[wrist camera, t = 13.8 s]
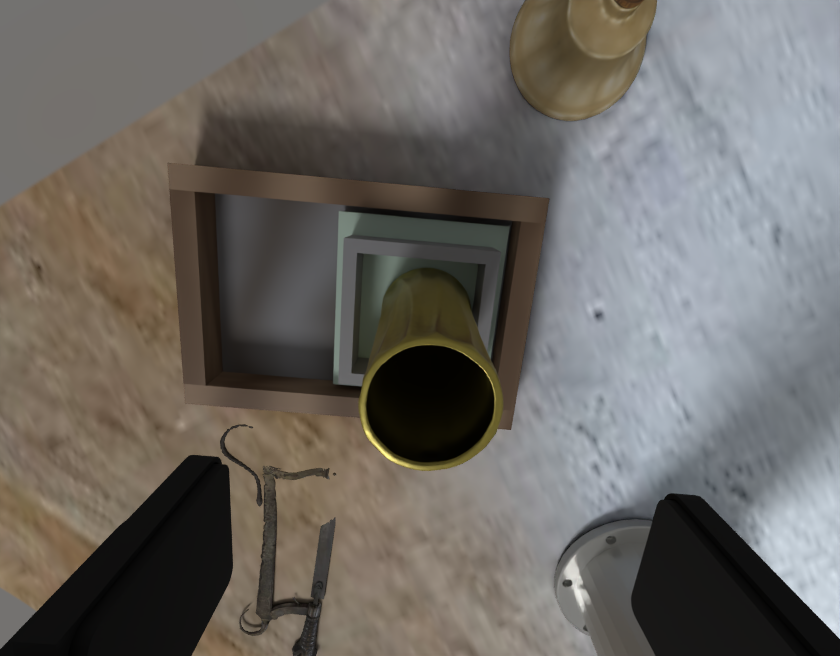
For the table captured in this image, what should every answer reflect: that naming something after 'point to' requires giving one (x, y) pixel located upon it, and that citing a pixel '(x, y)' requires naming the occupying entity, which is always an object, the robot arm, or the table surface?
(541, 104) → the hand bell
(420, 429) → the vase
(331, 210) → the open wooden box
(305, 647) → the hacksaw
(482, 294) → the square serving tray
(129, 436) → the table surface
